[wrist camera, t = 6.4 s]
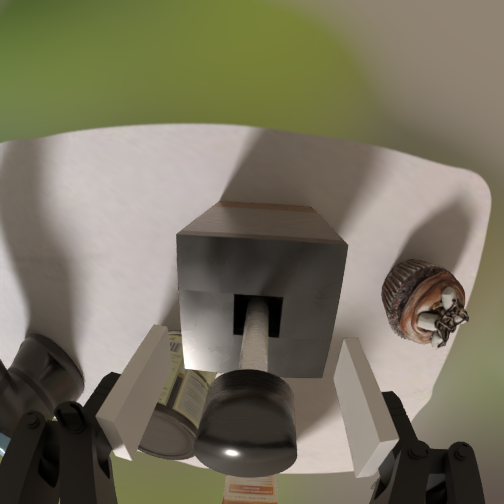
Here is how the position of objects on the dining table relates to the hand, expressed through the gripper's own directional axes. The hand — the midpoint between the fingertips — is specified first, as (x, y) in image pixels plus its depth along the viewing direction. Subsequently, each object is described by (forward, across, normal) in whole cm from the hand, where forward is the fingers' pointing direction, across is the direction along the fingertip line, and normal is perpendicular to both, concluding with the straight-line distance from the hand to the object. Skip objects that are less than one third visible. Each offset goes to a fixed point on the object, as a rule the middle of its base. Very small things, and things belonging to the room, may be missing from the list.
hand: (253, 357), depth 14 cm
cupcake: (+19, +19, -4) cm, 27 cm away
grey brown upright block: (+19, 0, 0) cm, 19 cm away
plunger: (+14, 0, 0) cm, 14 cm away
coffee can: (+19, -10, -17) cm, 28 cm away
